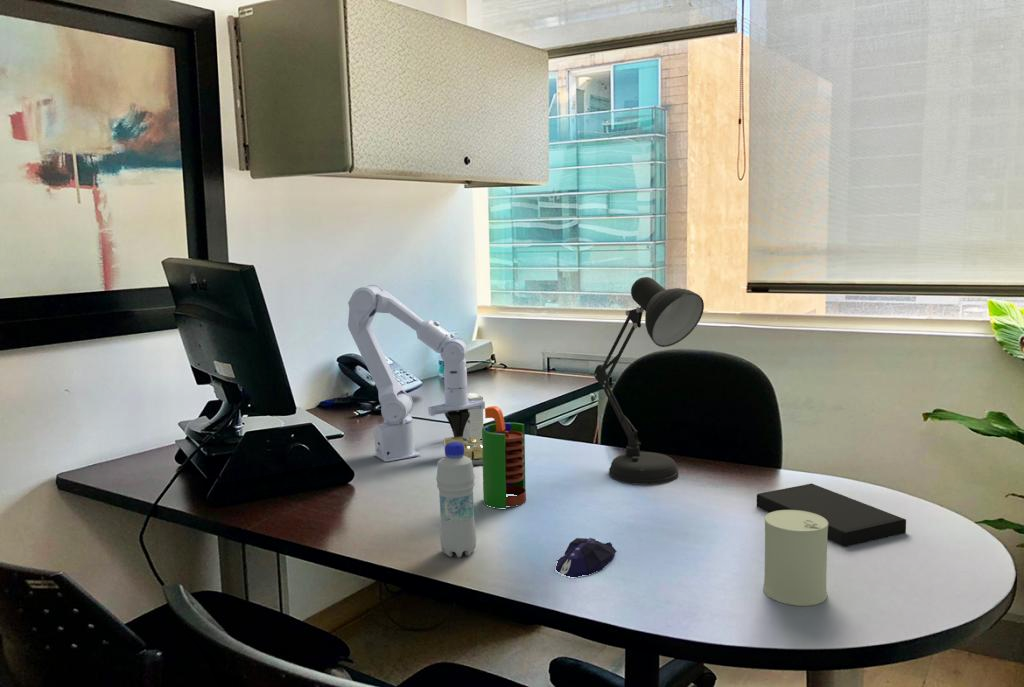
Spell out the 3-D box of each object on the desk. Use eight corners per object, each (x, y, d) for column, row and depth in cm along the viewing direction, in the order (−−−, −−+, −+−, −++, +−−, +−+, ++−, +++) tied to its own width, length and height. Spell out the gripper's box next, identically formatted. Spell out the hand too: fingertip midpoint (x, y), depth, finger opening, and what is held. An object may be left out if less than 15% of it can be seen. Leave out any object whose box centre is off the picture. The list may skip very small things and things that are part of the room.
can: (803, 612, 116) (804, 533, 114) (750, 590, 123) (751, 515, 122) (839, 594, 121) (841, 517, 120) (787, 574, 129) (788, 502, 127)
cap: (463, 469, 191) (463, 455, 191) (440, 456, 203) (440, 443, 202) (510, 460, 198) (510, 446, 197) (486, 448, 209) (485, 435, 208)
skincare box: (460, 437, 221) (458, 394, 220) (475, 434, 224) (473, 392, 222) (470, 442, 216) (468, 397, 214) (485, 439, 218) (483, 395, 216)
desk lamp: (703, 494, 168) (703, 279, 161) (580, 489, 174) (576, 281, 167) (704, 461, 191) (704, 272, 185) (596, 457, 197) (592, 274, 191)
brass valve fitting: (506, 452, 199) (505, 435, 199) (467, 462, 191) (466, 445, 191) (478, 444, 208) (477, 428, 207) (439, 454, 199) (438, 437, 199)
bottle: (458, 542, 146) (453, 435, 144) (485, 550, 142) (481, 440, 139) (431, 554, 141) (426, 444, 139) (459, 563, 137) (454, 449, 134)
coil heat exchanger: (521, 510, 162) (518, 413, 159) (478, 508, 164) (474, 413, 161) (530, 494, 172) (527, 402, 169) (489, 492, 174) (486, 402, 171)
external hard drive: (844, 549, 139) (845, 532, 138) (756, 508, 160) (756, 493, 159) (905, 534, 144) (906, 518, 143) (812, 497, 165) (812, 483, 165)
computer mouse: (534, 571, 134) (534, 548, 133) (586, 543, 145) (585, 522, 145) (580, 585, 128) (579, 561, 127) (630, 555, 139) (629, 533, 139)
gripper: (476, 381, 208) (478, 432, 210) (423, 387, 202) (425, 440, 204) (487, 385, 201) (489, 438, 203) (432, 392, 195) (435, 446, 197)
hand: (458, 439), depth 203 cm, fingers closed
